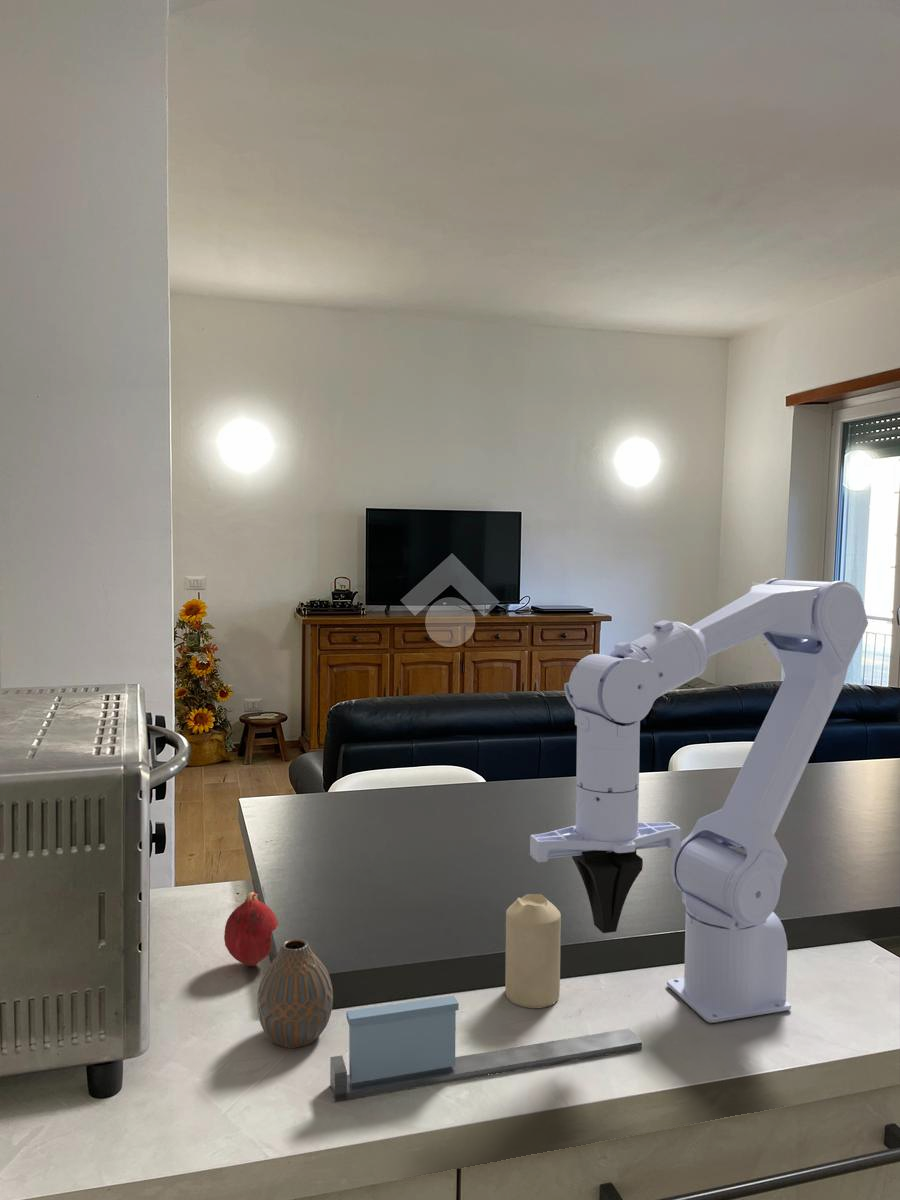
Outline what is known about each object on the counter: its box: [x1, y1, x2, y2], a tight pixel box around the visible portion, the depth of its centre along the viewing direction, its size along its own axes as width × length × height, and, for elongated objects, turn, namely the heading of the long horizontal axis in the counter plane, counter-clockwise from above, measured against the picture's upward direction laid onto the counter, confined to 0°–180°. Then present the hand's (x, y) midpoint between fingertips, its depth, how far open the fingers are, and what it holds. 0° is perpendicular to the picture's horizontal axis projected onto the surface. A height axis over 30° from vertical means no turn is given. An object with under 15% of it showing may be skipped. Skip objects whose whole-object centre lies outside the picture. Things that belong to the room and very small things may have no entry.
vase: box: [256, 938, 334, 1049], centre depth 81 cm, size 7×7×9 cm
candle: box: [504, 893, 562, 1009], centre depth 89 cm, size 6×6×10 cm
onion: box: [223, 891, 279, 967], centre depth 94 cm, size 6×6×8 cm
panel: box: [346, 994, 459, 1083], centre depth 74 cm, size 9×1×6 cm, turn 106°
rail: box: [329, 1028, 643, 1103], centre depth 76 cm, size 28×2×2 cm, turn 106°
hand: (605, 928), depth 82 cm, fingers closed
